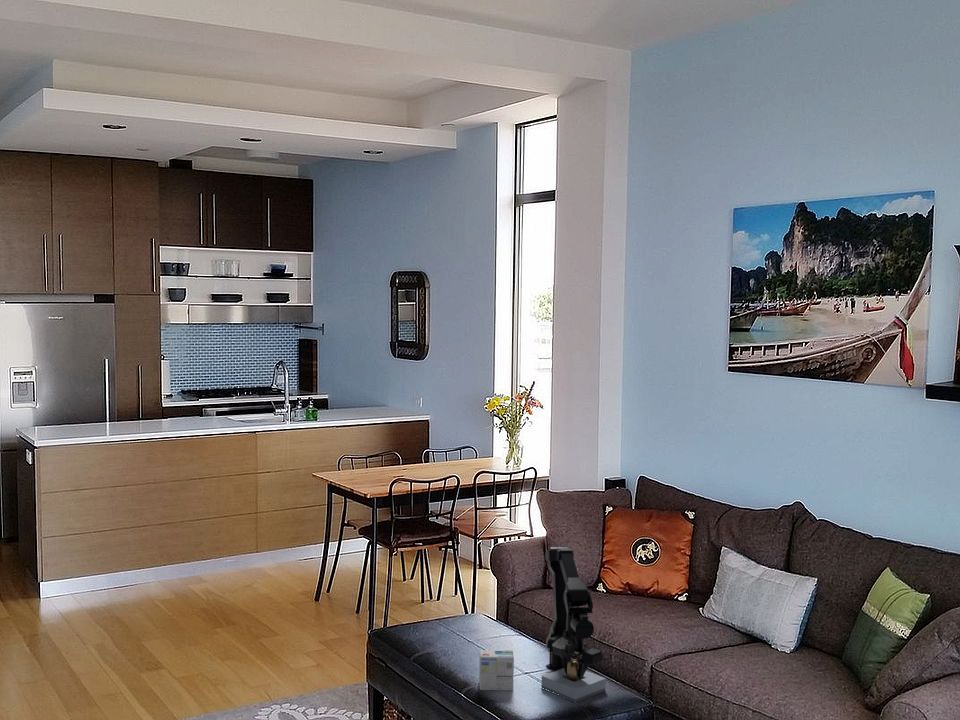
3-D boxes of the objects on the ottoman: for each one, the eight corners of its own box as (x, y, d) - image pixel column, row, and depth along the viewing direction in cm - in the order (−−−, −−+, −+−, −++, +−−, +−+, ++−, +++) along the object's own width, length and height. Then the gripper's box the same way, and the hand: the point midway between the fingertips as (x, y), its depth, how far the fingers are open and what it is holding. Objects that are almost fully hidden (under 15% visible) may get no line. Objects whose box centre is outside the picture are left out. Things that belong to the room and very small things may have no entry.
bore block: (541, 688, 321) (541, 675, 320) (571, 677, 330) (571, 665, 330) (575, 702, 311) (575, 689, 310) (605, 690, 320) (605, 678, 320)
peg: (564, 685, 320) (564, 661, 320) (572, 682, 323) (573, 657, 322) (573, 690, 318) (574, 665, 317) (582, 686, 320) (583, 661, 319)
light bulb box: (512, 682, 325) (513, 649, 324) (513, 691, 318) (514, 657, 317) (478, 682, 324) (479, 648, 323) (479, 690, 318) (480, 656, 317)
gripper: (535, 624, 320) (534, 673, 321) (581, 641, 307) (579, 692, 308) (560, 617, 328) (558, 665, 329) (605, 633, 314) (603, 683, 316)
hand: (573, 676), depth 320 cm, fingers open, 5 cm apart
